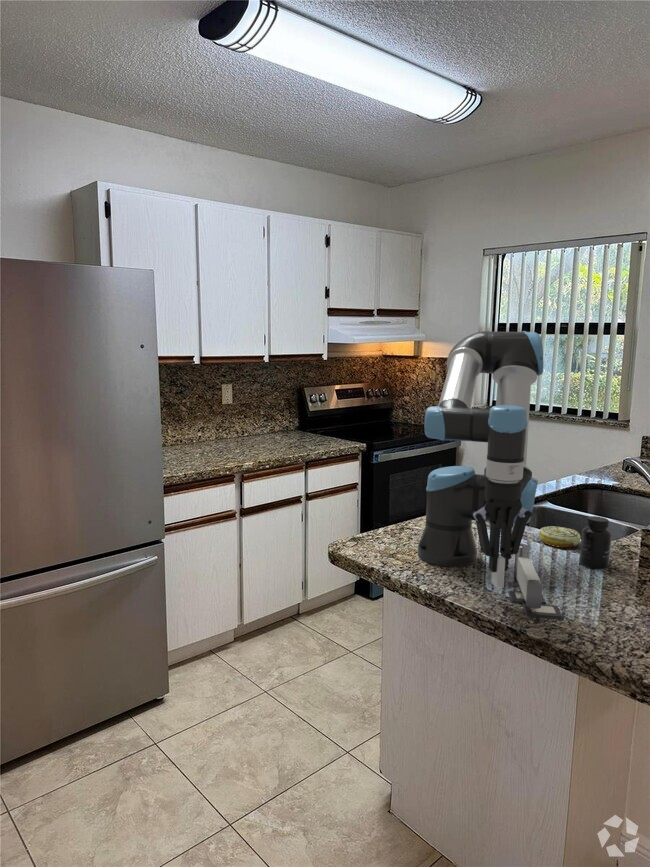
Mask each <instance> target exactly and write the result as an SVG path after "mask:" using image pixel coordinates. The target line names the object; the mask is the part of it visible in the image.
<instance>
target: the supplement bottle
mask: <svg viewBox="0 0 650 867" xmlns="http://www.w3.org/2000/svg"><path fill="white" fill-rule="evenodd" d="M609 522H610V521H609V519H608V518H605V517H603V516H596V515H594V516H588V517H587V522H586V526H585V527H584V528H583V529H582V532H581V538H580V549H579V550H580V552H579V563H580V564H581V565H582V566H583V567H585V568H589V569H594V570H605V569H607V568H608V567H609V565H610V556H611V548H612V539H613V538H612V536H613V535H612V532H611V531H610V530H609Z"/></svg>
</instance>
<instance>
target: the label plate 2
mask: <svg viewBox="0 0 650 867" xmlns="http://www.w3.org/2000/svg"><path fill="white" fill-rule="evenodd" d="M522 607H523V610H524V612H525V615H526V617H528V618H529V617H530V618H531V617H532V618H540V619H555V620H557V619H558V620H564V619H563V618H564V617H563V615H562V612H561V610H560V609H559V606H558V605H557V604H556V605H555V604H546V605H543V604H541V608H539V609H533V608H529V607H527V606H526V603H522Z"/></svg>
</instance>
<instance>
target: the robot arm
mask: <svg viewBox="0 0 650 867" xmlns="http://www.w3.org/2000/svg"><path fill="white" fill-rule="evenodd" d="M543 346H544V345H543V339H542V337H541V335H540V334H539V333H537V332H533V331H526V330H522V331H488V330H483V331H477V332H475V333H472V334H469V335H467V336H466V337H464V338H462V339H461V340H460V341H458V342H457V343H456V344H455V345H454V346H453V347H452V349H451V350H450V351H449V354H448V356H447V359H446V368H447V373H446V377H445V380H444V383H443V384H444V385H443V388H442V391H441V394H440V398H439V401H438V405H434V406H429V407H427V408H426V410H425V414H424V435H425V436H426V437H427V438H428V439H433V440H434V439H435V440H440V441H462V442H474V443H487V453H486V461H485V462H486V464H485V467H484V469H483V471H484V473H483V474H480V473H479V474H477V473H476V471H475V469H474V467H471V466H464V465H453V466H451V465H450V466H444V467H443V466H442V467H438V468H437V469H434V470H432V471H430V473H429V474H428V476H427V484H426V488H425V491H426V503H425V504H426V507H425V509H426V510H425V526H424V529H423V531H422V535H421V536H420V538H419V541H418V545H417V556H418V557H419V559H421V560H422V561H424V562H427V563H429V564H432V565H435V566H443V567H454V568H455V567H464V566H466V567H467V566H469V565H472V564H474V563H475V562H476V561H477V559H478V549H477V544H476V541H475V537H474V534H473V531H472V527H473V526H472V525H473V521H475V525H476V529H477V535H478V540H479V547H480V551H481V553H483V554H484V555H485V556H487V557H488V558H489V559H488V560H489V561H488V569H489V571H491V584H492V585H493V586H494V587H496V588H497V589H501V588H504V584H505V572H508V570H509V562H510V559H512V556H513V555H515V554H517V553H518V550H519V547H520V544H522V540H523V536H524V533H525V530H526V526H527V524H528V523H530V521H531V519H532V515H533V509H534V504H535V499H536V493H537V488H538V483H539V480H538V479H536V478H534V477H533V471H532V470H531V468H529V467H528V466H527V458H528V457H527V456H528V443H529V442H528V439H529V438H528V437H529V427H530V426H529V425H530V424H529V423H530V404H531V390H532V389H531V388H532V385H533V384H535V383H536V382H537V380H538V376H541V375H543V374H544V366H545V365H544V347H543ZM480 374H491V375H492V379H493V381H494V383H496V384H497V386H496V387H497V388H496V399H495V405H494V406H491V408H489V409H488V408H473V407H472V403H473V398H474V397H473V396H474V392H475V388H476V381H477V376H479V375H480ZM471 407H472V408H471ZM487 523H489V533H488V526H487Z"/></svg>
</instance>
